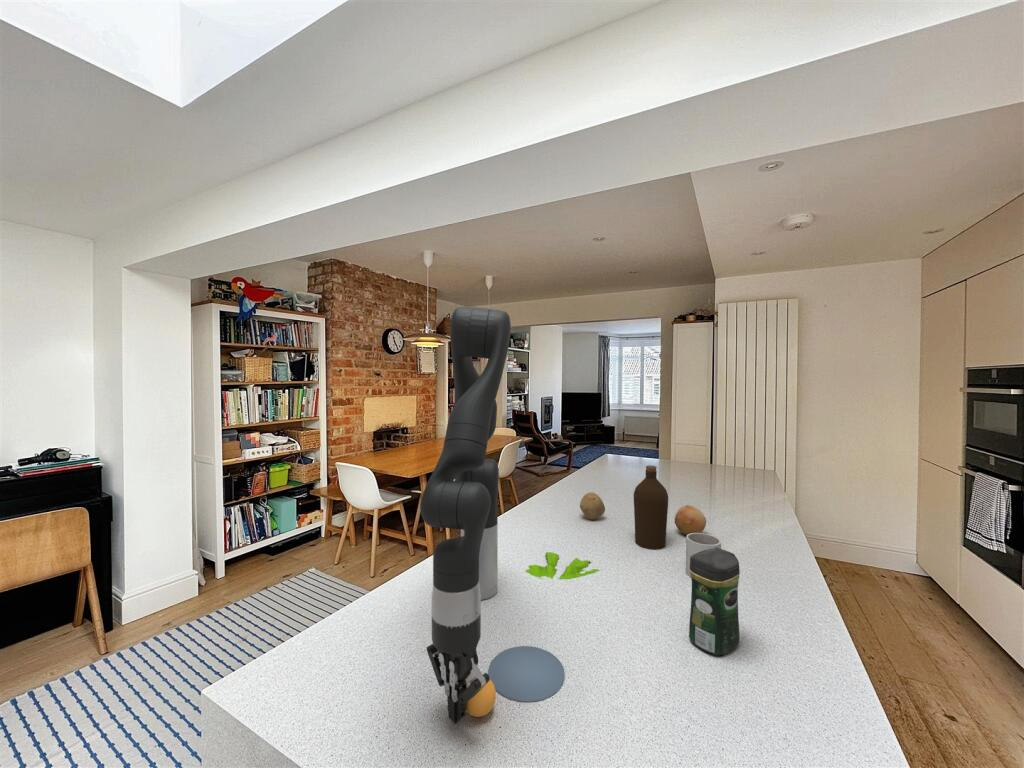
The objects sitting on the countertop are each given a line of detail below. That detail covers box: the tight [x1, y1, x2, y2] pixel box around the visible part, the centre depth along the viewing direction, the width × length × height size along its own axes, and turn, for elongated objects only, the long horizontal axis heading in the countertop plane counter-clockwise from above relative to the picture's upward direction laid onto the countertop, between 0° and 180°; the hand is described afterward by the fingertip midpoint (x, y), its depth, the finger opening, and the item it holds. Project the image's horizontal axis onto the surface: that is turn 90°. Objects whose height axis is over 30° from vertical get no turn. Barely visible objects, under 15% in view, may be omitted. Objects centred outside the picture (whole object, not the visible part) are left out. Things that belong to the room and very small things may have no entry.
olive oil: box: [633, 465, 669, 550], centre depth 134 cm, size 11×11×25 cm
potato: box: [579, 492, 606, 521], centre depth 156 cm, size 9×9×10 cm
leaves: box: [525, 551, 601, 580], centre depth 119 cm, size 20×22×2 cm
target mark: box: [487, 645, 566, 703], centre depth 76 cm, size 14×14×1 cm
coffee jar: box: [688, 547, 741, 656], centre depth 85 cm, size 10×8×19 cm
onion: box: [674, 504, 707, 536], centre depth 141 cm, size 10×10×10 cm
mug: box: [685, 532, 722, 579], centre depth 114 cm, size 12×9×10 cm
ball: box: [466, 680, 497, 718], centre depth 67 cm, size 6×6×6 cm
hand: (456, 717), depth 65 cm, fingers closed
